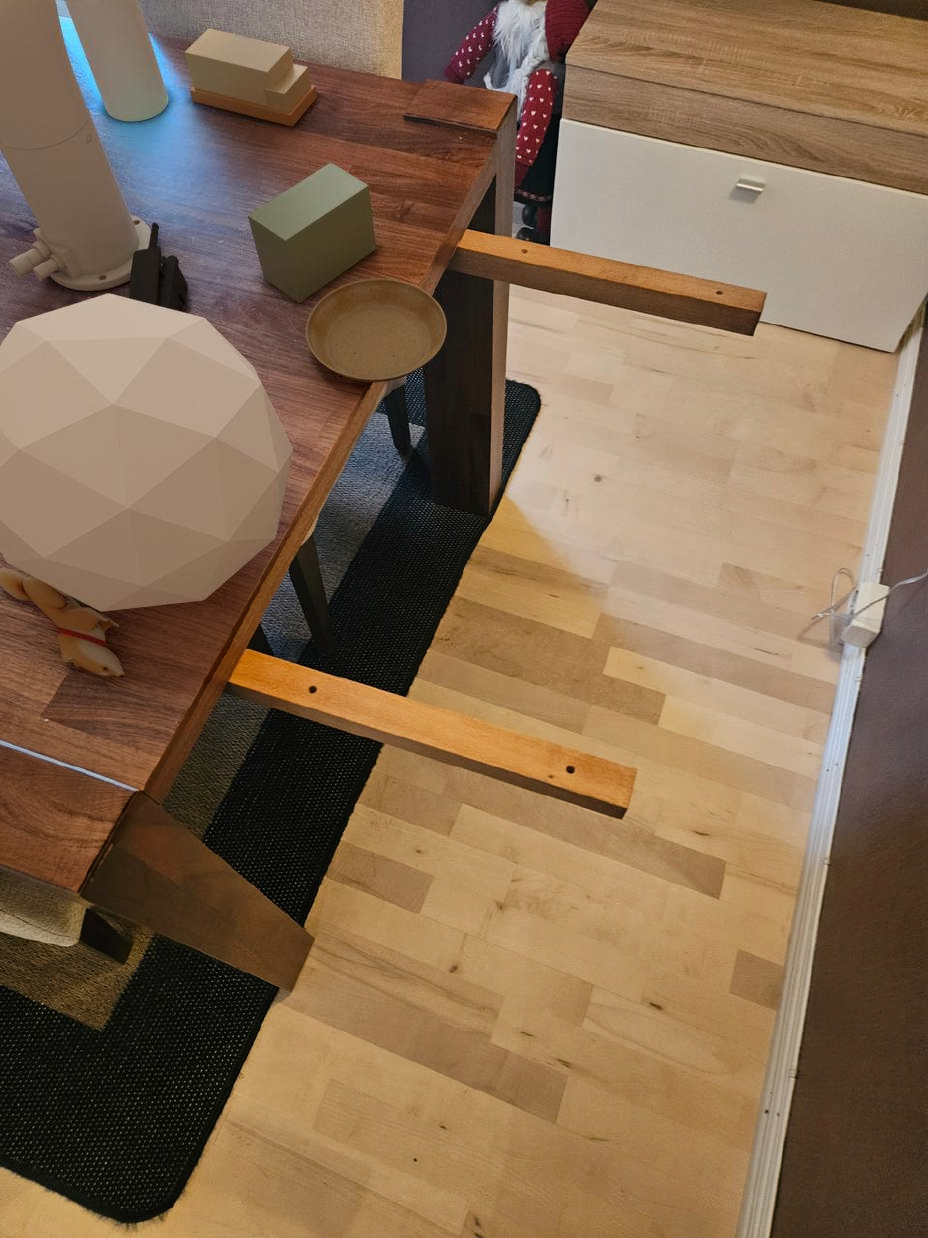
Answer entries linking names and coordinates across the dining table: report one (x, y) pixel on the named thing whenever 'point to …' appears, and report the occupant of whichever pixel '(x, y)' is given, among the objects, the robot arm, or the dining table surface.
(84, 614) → the toy
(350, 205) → the rectangular block
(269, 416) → the geometric shape
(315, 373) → the dining table surface
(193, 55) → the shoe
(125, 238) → the robot arm
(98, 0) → the cup
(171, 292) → the walkie-talkie
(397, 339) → the plant saucer
